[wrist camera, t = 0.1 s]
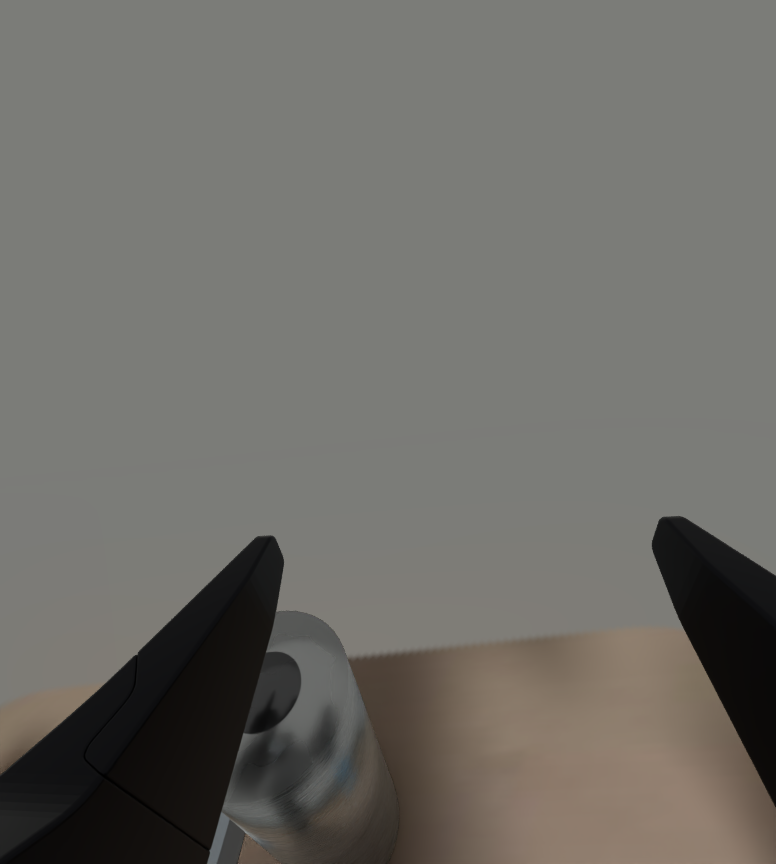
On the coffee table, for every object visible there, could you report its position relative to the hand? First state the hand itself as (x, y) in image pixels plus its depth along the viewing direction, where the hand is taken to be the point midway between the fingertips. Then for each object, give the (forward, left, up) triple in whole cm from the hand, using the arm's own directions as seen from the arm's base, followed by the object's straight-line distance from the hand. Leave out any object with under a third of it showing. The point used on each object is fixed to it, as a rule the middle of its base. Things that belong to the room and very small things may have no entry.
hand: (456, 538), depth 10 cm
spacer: (-1, +6, -17) cm, 18 cm away
